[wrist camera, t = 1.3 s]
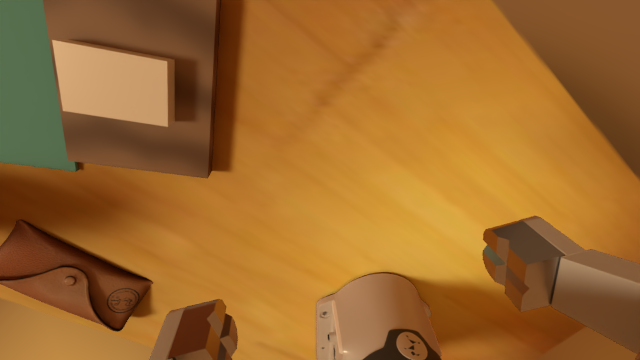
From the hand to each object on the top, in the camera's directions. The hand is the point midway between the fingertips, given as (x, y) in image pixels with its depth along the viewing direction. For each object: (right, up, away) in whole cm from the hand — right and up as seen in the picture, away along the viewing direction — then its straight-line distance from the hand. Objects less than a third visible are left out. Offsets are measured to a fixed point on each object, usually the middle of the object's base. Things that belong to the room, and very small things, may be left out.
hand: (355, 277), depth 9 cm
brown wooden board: (-19, +13, +22) cm, 32 cm away
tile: (-20, +12, +20) cm, 31 cm away
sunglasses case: (-33, -9, +32) cm, 47 cm away
